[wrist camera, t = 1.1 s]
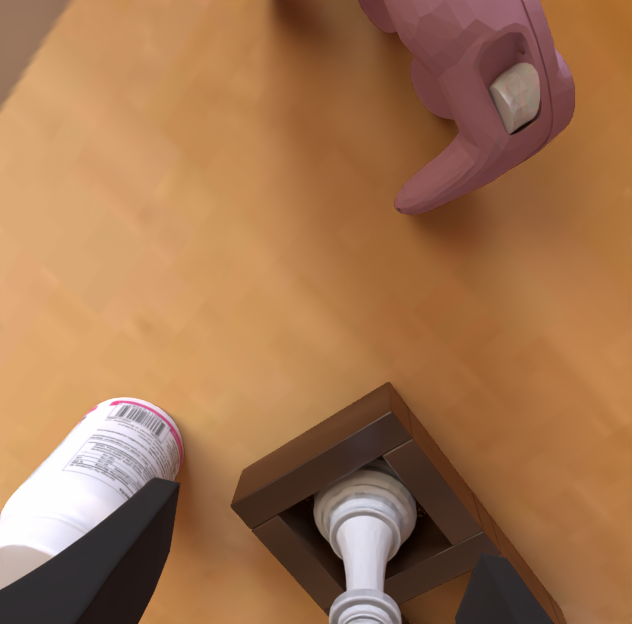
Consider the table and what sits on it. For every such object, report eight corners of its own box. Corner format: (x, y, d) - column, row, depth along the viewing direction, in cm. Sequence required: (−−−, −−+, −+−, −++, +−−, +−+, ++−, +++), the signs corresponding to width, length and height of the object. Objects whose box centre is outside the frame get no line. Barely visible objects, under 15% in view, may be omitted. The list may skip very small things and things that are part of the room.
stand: (561, 609, 26) (581, 658, 23) (418, 672, 28) (423, 723, 25) (388, 380, 23) (391, 410, 20) (242, 469, 25) (228, 506, 22)
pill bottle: (113, 498, 26) (1, 668, 18) (63, 412, 24) (-83, 554, 16) (205, 471, 25) (130, 638, 17) (157, 380, 23) (52, 514, 15)
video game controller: (486, 158, 21) (645, 101, 14) (398, 231, 20) (524, 205, 13) (334, -88, 19) (439, -294, 12) (228, -19, 18) (276, -200, 11)
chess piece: (364, 548, 25) (365, 800, 16) (294, 489, 25) (252, 718, 15) (436, 493, 24) (483, 732, 15) (364, 429, 23) (365, 638, 14)
